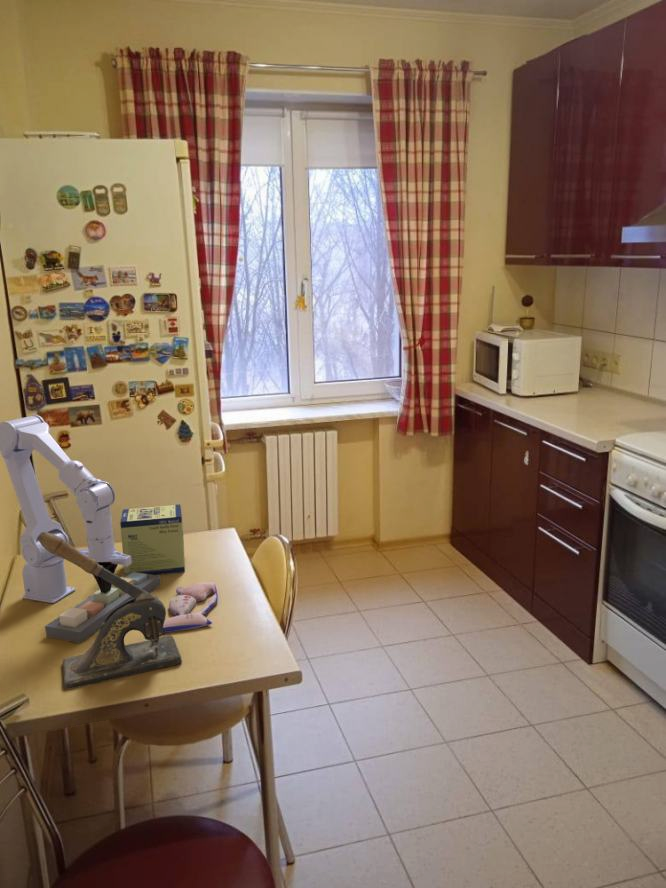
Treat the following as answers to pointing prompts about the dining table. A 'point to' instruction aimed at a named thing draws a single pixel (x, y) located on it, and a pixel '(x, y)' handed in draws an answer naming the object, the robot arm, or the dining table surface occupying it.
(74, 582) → the dining table surface
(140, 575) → the key blue
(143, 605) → the embossing press
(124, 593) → the key ochre
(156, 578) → the keypad board
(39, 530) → the robot arm
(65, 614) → the key ivory
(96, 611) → the key terracotta
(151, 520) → the protein powder box
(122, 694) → the dining table surface
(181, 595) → the anatomical model
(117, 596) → the key sage
